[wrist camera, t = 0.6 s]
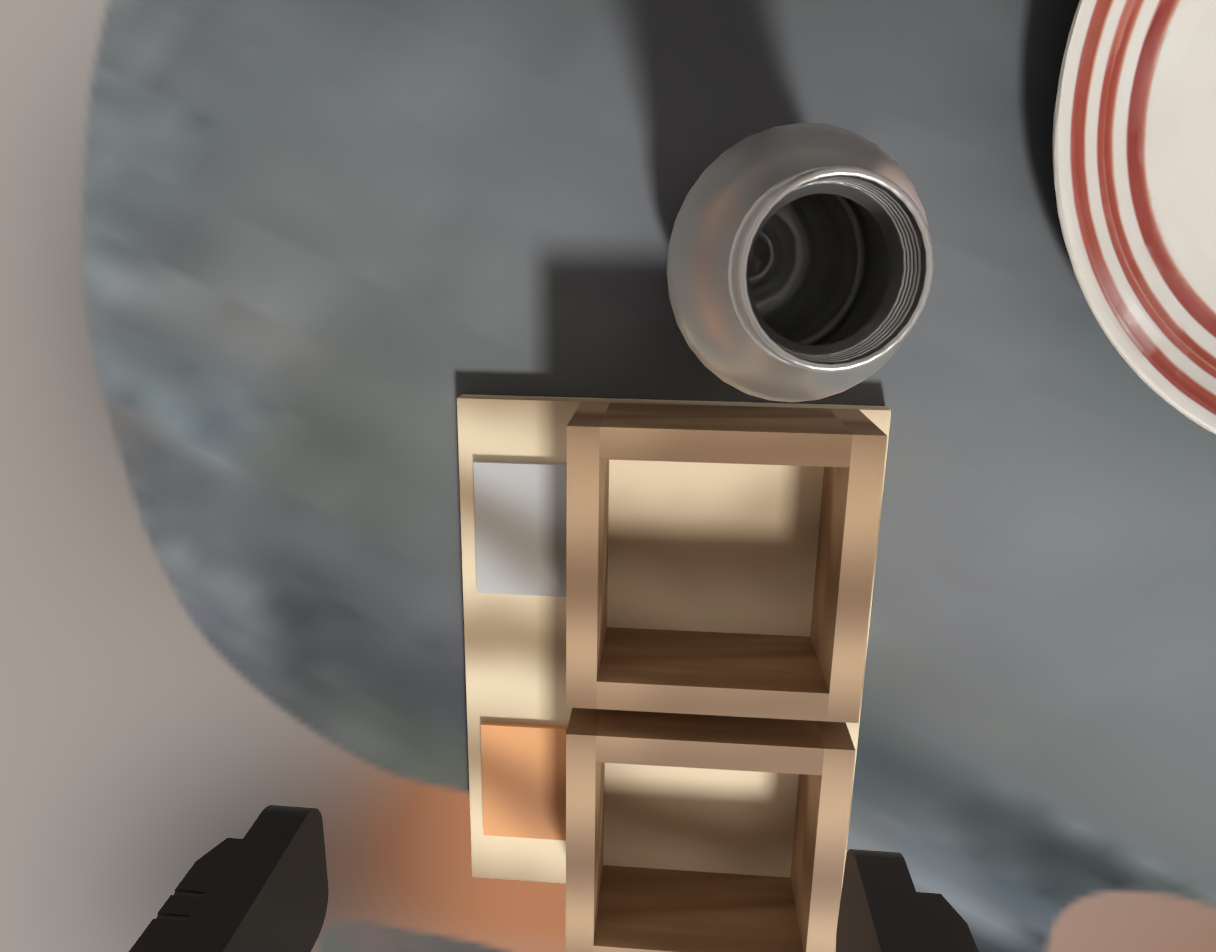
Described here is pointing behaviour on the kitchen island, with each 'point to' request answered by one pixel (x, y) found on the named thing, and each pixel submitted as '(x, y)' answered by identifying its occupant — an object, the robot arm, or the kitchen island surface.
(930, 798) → the kitchen island surface
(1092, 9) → the dinner plate
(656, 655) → the socket board
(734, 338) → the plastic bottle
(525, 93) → the kitchen island surface
